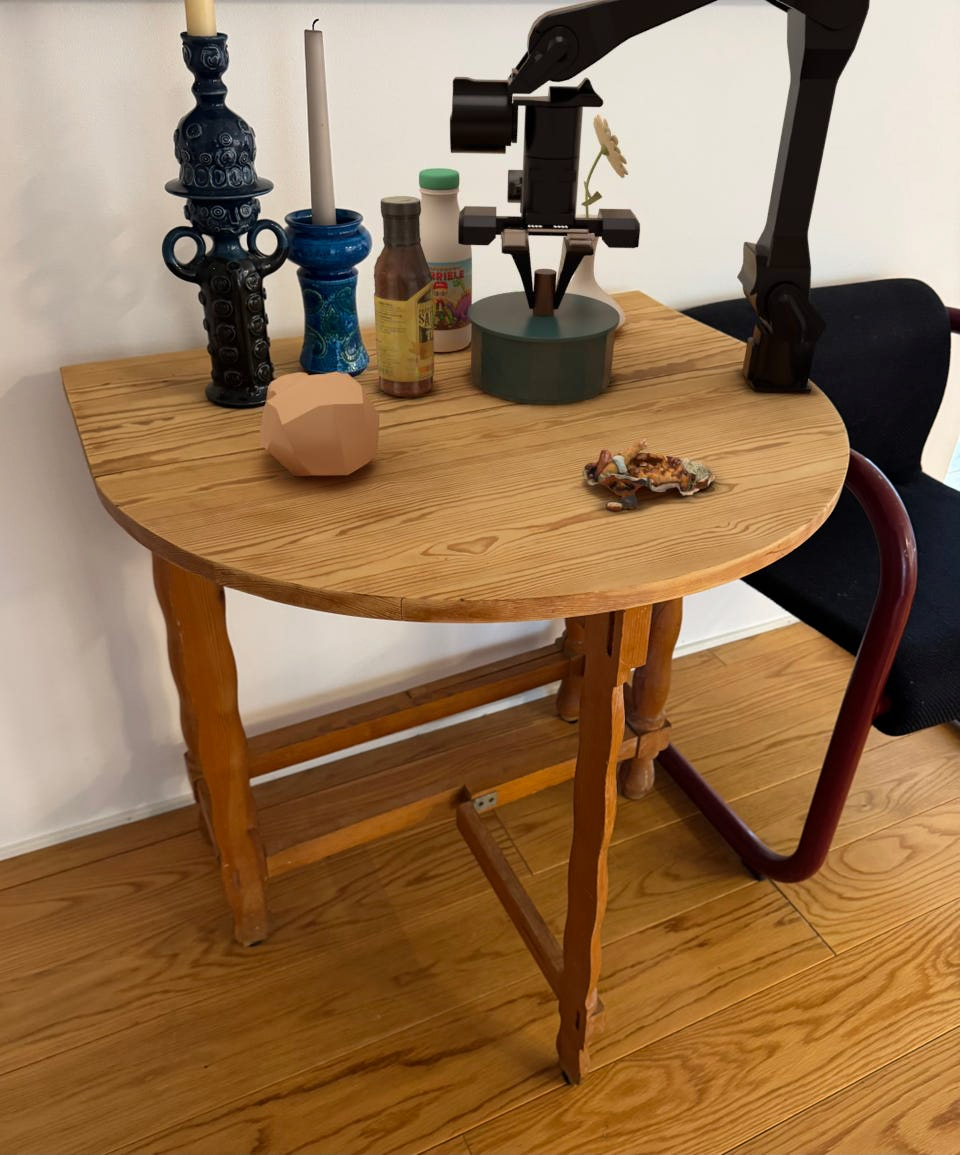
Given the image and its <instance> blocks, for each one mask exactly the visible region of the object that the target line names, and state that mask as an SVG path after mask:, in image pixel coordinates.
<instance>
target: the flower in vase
mask: <svg viewBox="0 0 960 1155" xmlns="http://www.w3.org/2000/svg"><path fill="white" fill-rule="evenodd" d="M592 125H593V128H594V131H595V134H596V137H597V141H598V143H599V145H600V151H599V152H598V154H597V156H596V157H595V160H594V162H593V163H592V166H591V168H590V170H589V173H588V175H587V178H586V181H585V180H584V181H583V185H584V201H583V202H582V203H581V204H580V205H581V206H584V207H585V213H584V214H583V213H582V214H576V217H577V218H598V214H589V206H590V205H592V204H594V203H596V202H598V201H599V200H601V199H602V198H603V196H602V194H601V193H600V192H599V191H598V190H596V191H595V192H594V193H593V195H592V194H591V193H590V190H589V184H590V181H591V178H592V175H593V173H594V170H595V169H596V166H597V164H598V163H599V161H600V159H601V157H602V155H603V156H605V157H606V160H607V161H608V162H609V164H610V166H611V167H612V169H613V170H614V171H615V173H616V174H617V175H618V176H619V177H620V178H621V179H625V176H629V171H628V169H627V168H626V167H625V165H627V164H628V162H627V160H626V157H625V156H624V155H623V154H622V151H621V149H620V147H619V146H618V145H619V139H618V137H617V135H615V134H612V130H611V128H610V127H609V123H608V120H607V119H606V118H605V117H603V119H602V117H601V115H600V113H597V114H596V116H594V117H593V122H592ZM599 238H600V237H595V240H594V241H592V245H593V248H594V254H593V255H591V256H584V258H583V259H582V261H581V263H580V264H579V266H578V268H577V269H576V271H575V273H574V274H573V276H572V278H571V280H570V283H569V285H568V287H567V289H566V292H565V293H571V294H577V295H582V296H586V297H590V298H594V299H597V300H600V301H602V302H605V303H607V304H609V305H610V306H612V307H613V308H615V309H616V310H617V311H618V313H619V315H620V322H619V325H618V326H617V328H616V329H615V332H616V331H618V330H620V329H621V327H622V326H623V325H624V324H625V323H626V320H627V319H626V315H625V312H624V310H623V309H622V307H621V306H620V305H619V303H618V302H616V300H614V298H613V297H611V296H610V295H609V294H608V293H607V292H606V291H605V290H604V289H603V288H602V287H601V286H600V285H599V284H598V282H597V281H596V278H595V257H596V251H597V247H598V242H599Z"/></svg>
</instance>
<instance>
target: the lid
mask: <svg viewBox="0 0 960 1155" xmlns="http://www.w3.org/2000/svg"><path fill="white" fill-rule="evenodd" d="M533 273H534V274H533V293H534V303H533V309H529V305H528V301H527V298H526V294H525V291H524V290H521V291H510V292H503V293H498V294H497V293H496V294H492V295H489V296H486V297H483V298H481V299H478V300H476V301H474V302H472V305H471V306H470V307H469V308H468V311H467V317H468V320H469V322H470V323H471V324H472V325H473V326H474V327H476V328H477V329H479V330H481V331H483V332H486V333H488V334H491V335H495V336H498V337H502V338H506V339H512V340H518V341H526V342H539V343H563V342H575V341H583V340H588V339H593V338H597V337H600V336H603V335H605V334H608V333H610V332H612V331H613V330H614V329H616V328H617V326H618V325H619V322H620V315H619V313H618V311H617V310H616V309H615V308H613V307H612V306H610V305H609V304H607V303H605V302H602V301H600V300H597V299H594V298H590V297H586V296H582V295H577V294H571V293H565V294H564V297H563V299H562V301H561V304H560V306H559V308H558V310H555V309H554V306H555V291H556V282H557V275H558V271H556V270H555V269H552V268H538V269H535V270H534V272H533Z"/></svg>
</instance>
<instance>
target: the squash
mask: <svg viewBox="0 0 960 1155" xmlns="http://www.w3.org/2000/svg"><path fill="white" fill-rule="evenodd" d="M265 400H266V401H265V403H264V406H263V410H262V415H261V416H262V417H261V422H260V428H259V435H258V441H257V442H258V443H259V444H260V446H262V447H263V448H264V449H265V450H266V451H267V452H268V453H269V454H271V456H273V457H274V458H275V459H276V460H277V461H278V463H280V464H281V465H282V466H283V467H284V468H285V469H286V470H287V471H289V473H291V475H293V477H323V476H325V477H326V476H327V477H328V476H349V475H350V474H352V473H354V472H355V471H357V470H359V469H361V468H362V467H364V466H365V465H367V464H368V463H369V462H370V460H372V458H373V457H374V456H375V454H377V452H378V451H379V447H380V443H379V442H380V413H379V412H378V411H377V409H376V407H375V406H374V404H373V402H372V401H371V399H370V398H369V396H368V395H367V392H366V391H365V389H364V387H363V386H362V385H361V384H360V383H359V382H358V381H357V380H355V379H354V378H353V377H352V376H351V375H350V374H349V373H347V372H346V373H344V372H342V373H340V372H339V371H333V372H327V373H319V374H311V375H309V374H308V373H307V372H302V371H299V372H293V373H288V374H283V375H281V376H279V377H277V378H275V379H274V380H272V381H270V383H269V384H268V386H267V392H266V399H265Z"/></svg>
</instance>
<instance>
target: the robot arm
mask: <svg viewBox="0 0 960 1155" xmlns="http://www.w3.org/2000/svg"><path fill="white" fill-rule="evenodd" d="M717 1H719V0H591V1H586V2H580V3H576V4H572V5H567V6H564V7H563V6H562V7H558V8H555V9H551V10H548V11H545V12H544V13H542V14H540V15H539V16H538V17H537V18H536V19H535V20H533V22H532V24H531V26H530V28H529V31H528V34H527V39H526V52H525V53H524V55H523V56H522V58H521V59H520V60H519V62H518V63H517V64H516V66H515V67H511V72H510V74H509V76H508V77H507V78H506V79H476V78H472V77H468V76H455V77H454V78H453V80H452V98H451V99H452V100H451V114H450V116H449V147H450V148H449V150H450V154H483V155H485V154H487V155H506V154H507V147H512V144H517V143H518V132H519V131H518V129H519V107H524V127H523V129H524V130H523V156H522V169H508V170H507V190H506V191H507V192H506V193H507V196H506V198H507V199H506V203H509V204H519V211H520V212H519V213H520V216H519V215H518V216H517V215H497V206H485V205H483V206H481V205H479V206H478V205H475V206H473V205H465V206H464V207H463V208H462V209H460V214H459V221H458V244H462V245H471V246H490V245H491V243H492V242H493V241H495V240H496V238H497V236H500V240H501V242H500V243H501V245H500V246H501V254H503V255H510V256H511V258H512V260H513V262H514V264H515V267H516V269H517V271H518V273H519V274H518V275H519V276H520V277H519V278H520V280H521V283H522V286H523V291H525V294H526V298H527V301H528V305H529V309H533V303H534V293H533V290H534V281H533V274H532V273H533V272H532V262H531V250H530V240H529V237H530V236H532V237H534V236H535V237H536V236H537V237H562V246H561V255H560V260H559V265H558V271H557V276H556V291H555V306H554V309H555V310H558V308H559V306H560V304H561V301H562V299H563V297H564V294H565V292H566V289H567V287H568V285H569V283H570V282H571V281H572V279H573V277H574V274H575V271H576V269H577V268H578V266H579V264H580V263H581V261H582V259H583V258H584V256H591V255H593V254H594V248H593V245H592V241H594V240H595V237H599V238H601V241H602V242H603V243H604V244H605V245H606V247H608V248H609V249H635V248H639V245H640V236H641V223H640V221H639V219H638V217H637V215H636V214H635V213H634V212H633V211H632V209H630V208H599V209H598V212H597V215H598V218H577V217H576V215H577V205H578V192H579V190H578V188H579V174H580V162H581V161H580V160H581V159H580V158H581V142H582V129H583V114H584V112H583V111H584V108H601V107H603V105H604V99H603V98H602V97H601V96H600V94H599V93H597V92H596V91H595V89H594V87H593V84H592V82H591V80H590V79H589V78H588V77H584V78H583V79H582V81H581V82H580V83H579V84H578V85H576V86H573V85H572V86H571V85H569V86H565V85H549V86H548V91H547V95H542V96H541V95H539V96H538V95H537V96H535V95H533V96H527V95H531V94H532V93H534V92H535V91H536V90H538V89H539V88H541V87H542V86H544V85H545V84H547V83H548V82H551V83H562V82H565V81H570V80H571V79H573V78H575V77H576V76H578V75H579V74H581V73H583V72H584V71H586V70H587V69H589V68H590V67H591V66H593V65H595V64H596V63H597V62H599V61H600V60H602V59H603V58H604V57H606V56H607V55H608V54H610V53H611V52H613V51H614V50H616V48H618V47H619V46H620V45H622V44H624V43H625V42H627V41H628V40H630V39H632V38H633V37H636V36H638V35H641V34H643V33H645V32H647V31H650V30H653V29H655V28H657V27H660V26H663V25H664V24H667V23H669V22H671V21H674V20H676V19H679V18H681V17H683V16H685V15H687V14H689V13H692V12H695V11H696V10H699V9H702V8H704V7H706V6H709V5H711V4H713V3H715V2H717ZM764 1H765V3H766V2H767V3H768V4H770V5H771V6H773V7H775V8H777V9H779V10H780V11H782V12H784V13H786V16H787V17H786V47H787V57H788V64H789V73H790V75H789V76H790V78H789V79H790V80H789V87H788V92H787V93H788V94H787V98H786V99H787V100H786V104H785V110H784V115H783V121H782V129H781V134H780V140H779V144H778V151H777V158H776V162H775V169H774V175H773V181H772V187H771V193H770V197H769V198H770V199H769V204H768V210H767V211H768V212H767V216H766V221H765V225H764V228H763V230H762V232H761V234H760V236H759V237H758V239H757V241H756V243H755V242H749V241H744V242H743V247H742V255H743V256H742V265H741V268H740V270H739V273H738V274H737V277H736V278H737V280H738V281H739V282H740V283H741V286H742V292H743V294H744V296H745V298H746V299H747V301H748V302H749V304H750V305H751V306H752V307H753V310H755V311H756V312H755V313H756V316H757V318H758V319H760V320H761V322H762V323H755V324H754V329H753V335H752V337H748V338H747V341H746V348H745V353H744V359H743V364H742V371H741V372H742V374H743V376H744V377H745V379H746V380H747V382H748V383H749V386H750V387H751V388H752V390H753V391H755V392H775V393H776V392H779V393H781V392H782V393H811V392H812V391H813V386H812V385H811V384H810V382H809V379H810V374H811V369H812V364H813V359H814V355H815V350H816V345H817V342H818V341H819V340H820V339H821V336H822V334H823V333H824V332H825V330H826V329H827V326H828V324H827V322H826V321H825V319H824V318H823V316H821V314H820V313H819V312H818V311H817V309H816V308H815V307H814V306H813V305H812V304H811V302H810V300H811V291H812V290H811V289H812V287H811V286H812V263H811V261H812V260H811V254H810V252H811V251H810V244H809V229H810V225H811V224H810V223H811V218H812V213H813V209H814V203H815V198H816V194H817V188H818V183H819V178H820V172H821V167H822V163H823V157H824V151H825V146H826V142H827V136H828V131H829V127H830V122H831V115H832V112H833V107H834V101H835V95H836V89H837V86H838V83H839V80H840V77H841V76H842V74H843V72H844V71H845V68H846V66H847V65H848V63H849V61H850V59H851V57H852V56H853V53H854V52H855V50H856V47H857V44H858V41H859V39H860V36H861V33H862V31H863V28H864V24H865V22H866V19H867V16H868V13H869V10H870V4H871V0H764ZM515 95H516V96H515ZM519 95H520V96H519ZM521 95H522V96H521ZM523 95H524V96H523ZM525 95H526V96H525Z"/></svg>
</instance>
